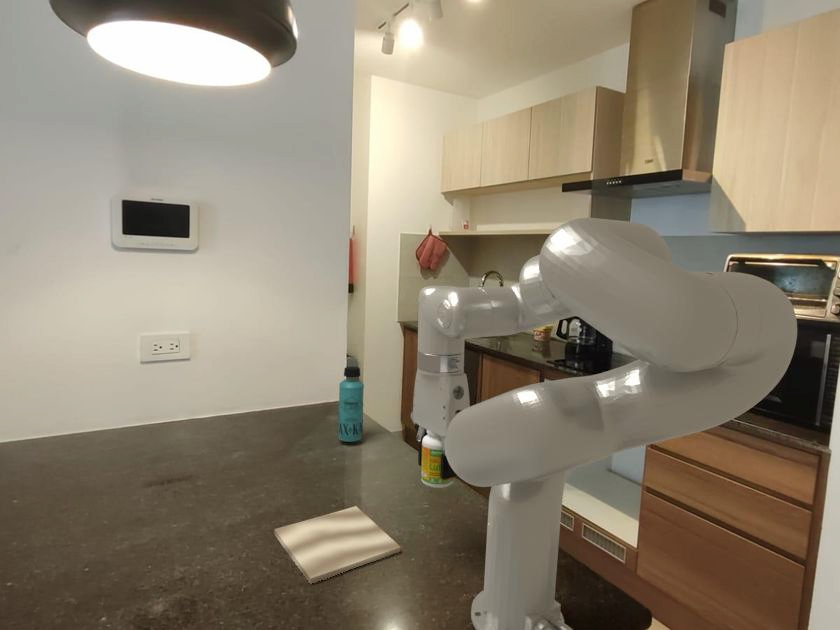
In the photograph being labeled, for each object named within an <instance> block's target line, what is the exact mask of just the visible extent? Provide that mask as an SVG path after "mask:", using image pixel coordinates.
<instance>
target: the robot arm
mask: <svg viewBox="0 0 840 630" xmlns="http://www.w3.org/2000/svg"><path fill="white" fill-rule="evenodd" d="M544 241H545V242H543V245H542V247H541V250H540V253H539V254H538V255H535V256H532V257H531V258H529V259H528V260H527V261H526V262H525V263H524V265H522V267H521V270H520V273H519V277H518V278H519V279H518V282H516V283H513V284H511V285H504V286H474V287H473V286H471V287H470V286H469V287H467V286H465V287H464V286H463V287H459V286H453V285H428V286H424V287H423V288H421V290H420V291H419V294H418V312H417V313H418V314H417V315H418V316H417V317H418V318H417V321H418V323H417V354H416V355H417V360H416V361H417V364H416V365H417V366H416V367H417V370H416V372H415V373H416V374H415V380H414V389H413V402H412V405H413V406H412V411H411V413H410V419H411V420H412V423H413V424H414V429H415V431H416V440H417V442H418V458H417V459H418V461H417V465H418V466H419V467H422V440H423V438H424V437H425V436H426V435H428V434H427V431H426V429H428V430H430V431H432V432H434V433H435V434H437V435H439V436H441V440H442V446H443V452H444V454H442V455H441V472H440V476H441V478H442V479H443V480H445V479H448V478H452V477H459V478H460V479H461V480H462V481H464V482H466V483H467V484H469V485H472V486H475V487H481V488H487V487H489V488H490V487H491V488H490V493H489V497H488V510H487V511H488V512H487V525H486V526H487V527H486V543H485V544H486V545H485V546H486V547H485V549H486V550H485V560H484V561H485V564H484V581H483V590H481V591H480V592H479V593H477V594H476V596H475V597H474V598H473V601H472V603H471V611H470V619H471V622H472V624H473V627H474V629H475V630H574V629H573V628H571V627H570V626H569V625H568V624H566V623H565V619H564V615H563V613H562V612H561V607H562V606H561V605H562V604H561V603H559V602H558V601H556V599H555V597H556V583H557V573H558V571H557V569H558V556H559V555H558V554H559V546H560V545H559V543H560V533H561V532H560V531H561V521H562V520H561V518H562V509H563V508H562V507H563V498H564V491H565V485H566V481H567V476H568V472H569V471H571V470H574V469H576V468H579V467H583V466H587V465H589V464H592V463H595V462H598V461H601V460H603V459H606V458H607V457H609V456H612V455H614V454H617V453H620V452H623V451H626V450H630V449H631V450H632V449H635V448H639V447H643V446H644V447H645V446H649V445H653V444H658V443H662V442H666V441H669V440H672V439H678V438H683V437H686V436H689V435H694V434H697V433H700V432H703V431H708V430H709V429H712V428H716V427H718V426H721V425H724V424H725V423H727V422H730V421H731V420H733V419H735V418H737V417H739V416H742V414H744V413H746V412H748V411H749V410H750V409H752V408H753V407H754V406H756V405H757V404H759V402H761V401H762V400H764V399H765V397H766V396H768V395H769V393H770V392H772V391H773V390H774V388H776V386H777V385H778V384H779V383H780V382H781V380H782V378H783V377H784V375H785V374H786V372H787V370H788V368H789V365H790V364H791V361H792V359H793V356H794V352H795V348H796V344H797V339H798V321H797V316H796V311H795V309H794V306H793V304H792V302H791V300H790V299H789V297H788V295H786V293H785V292H784V291H783V290H782V289H781V288H779V287H778V286H777V285H776V284H774V283H772V281H769V280H767V279H764V278H762V277H759V276H756V275H753V274H749V273H745V272H744V273H743V272H736V271H699V270H698V271H696V270H695V271H693V270H692V271H691V270H689V271H688V270H685V269H682V268H680V267H677V266H676V265H674V264H672V259H671V257H672V256H671V253H670V249H669V246H668V244H667V242H666V241H665V239H664V238H663V237H662V235H660V234H659V233H658V232H657V231H656V230H655V229H653V228H651V227H650V226H647V225H645V224H642V223H639V222H634V221H628V220H627V221H626V220H615V219H607V218H599V217H598V218H597V217H596V218H595V217H579V218H576V219H570V220H569V221H566V222H565V223H563V224H561V225H559V226H558V227H557V228H555V229H554V230H553V231H552V232H551V233H550V234H549V235H548V237H547V238H546V239H545V240H544ZM576 316H577V317H578V318H580V319H581V320H582V321H584V322H585V323H586V324H588V325H589V326H591V327H592V328H594V330H597V331H598V332H600V334H602V335H604V336H605V337H606V338H607V339H609V340H611V341H612V342H614V343H615V344H616V345H618V346H619V347H620V348H621V349H623V350H624V351H626V352H627V353H629V354H631V356H633V357H635V358H636V360H634V361H632V362H629V363H628V364H624V365H621V366H619V367H616V368H613V369H610V370H608V371H607V370H606V371H603V372H601V373H597V374H592V375H585V376H575V377H568V378H562V379H555V380H548V381H544V382H537V383H532V384H527V385H524V386H521V387H518V388H514V389H512V390H509V391H506V392H504V393H501V394H499V395H496V396H493V397H491V398H488V399H486V400H483V401H481V402H478V403H476V404H473V405H471V404H470V402H471V401H470V392H469V383H468V377H467V374H466V373H465V370H464V369H465V368H464V367H465V341H466V340H469V339H476V338H477V339H478V338H489V337H501V336H511V335H514V334H518V333H519V334H520V333H524V332H527V331H532V330H535V329H536V330H537V329H539V328H543V327H546V326H549V325H551V324H554V323H556V322H558V321H561V320H565V319H570V318H573V317H576ZM470 405H471V406H470Z"/></svg>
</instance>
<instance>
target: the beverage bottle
mask: <svg viewBox="0 0 840 630" xmlns="http://www.w3.org/2000/svg"><path fill="white" fill-rule="evenodd" d="M343 377H345V379H343V380H342V381H341V382H340V383H339V385H338V387H339V393H338V395H339V398H338V411H337V413H338V414H337V437H338V440H340V441H341V442H357V441H360V440H361V439H362V436H363V433H364V432H363V431H364V430H363V429H364V428H363V427H364V387H365V384H364V383H363V382H362V380H360V379H358V378H359V377H361V368H360V367H358V366H346V367H345V368H344V372H343ZM346 377H347V378H346Z"/></svg>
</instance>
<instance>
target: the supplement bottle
mask: <svg viewBox="0 0 840 630" xmlns="http://www.w3.org/2000/svg"><path fill="white" fill-rule="evenodd" d="M426 431H427V434H428V435H426V436H425V437H424V438H423V440H422V466H421V475H420V477H421V482H422V484H423V485H425V486H427V487H431V488H437V489H439V488H440V489H441V488H447V487H449V486H451V485H453V483H454V481H455V480H454V479H455V478H454V477H452V478H448V479H445V480H443V479H442V478H441V476H440V472H441V455H442V454H444V452H443V446H442V440H441V436H439V435H437V434H435V433H434V432H432V431H430V430H428V429H426Z"/></svg>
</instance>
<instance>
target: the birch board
mask: <svg viewBox="0 0 840 630" xmlns="http://www.w3.org/2000/svg"><path fill="white" fill-rule="evenodd" d="M273 531H274V533H273V534H274V536H275V538H276V539H277V540H278V542H279V543H280V544H281V546H282V547H283V549H284V550H285V551H286V553H287V554H288V556H289V557H290V558H291V560H292V562H293V563H294V562H295V563H294V564H295V566H296V567H297V566H298V567H297V568H298V570H299V569H300V570H299V571H300V573H301V574H302V573H303V574H302V575H303V576H305V577H304V578H305V579H306V581H307V580H308V581H307V582H308V583H310V584H311V585H313V584H312V583H314V584H317V583H319V582H318V581H320V582H322V581H321V580H323V581H324V580H328V579H331V578H333V577H332V576H334V577H336V576H335V575H337V574H339V575H341V574H340V573H342V574H344V573H343V572H345V571H348V570H350V569H353V568H356V567H359V566H362V565H364V564H367V563H370V562H372V561H376V560H378V559H381V558H384V557H386V556H388V555H391V554H393V553H396V552H399V551H401V550H402V548H401V546H400V544H399V543H397V542H396V541H395V540H394V539H393V538H392V537H390V536H389V534H388V533H386V532H385V531H384V530H383V529H382V528H381V527H380V526H379V525H377V524H376V523H375V522H374V521H373V520H372V519H371V518H370V517H369V516H368V515H367V514H365V513H364V512H363V511H362V509H360V508H359V507H358V506H357V505H354V506H352V507H348V508H345V509H342V510H338V511H334V512H330V513H327V514H324V515H320V516H316V517H313V518H309V519H306V520H302V521H300V522H296V523H291V524H288V525H283V526H281V527H277V528H274V530H273ZM384 559H385V558H384ZM381 560H382V559H381ZM376 562H377V561H376ZM370 564H371V563H370ZM367 565H368V564H367ZM362 567H363V566H362ZM359 568H360V567H359ZM356 569H357V568H356ZM353 570H354V569H353ZM348 572H349V571H348ZM345 573H346V572H345ZM337 576H338V575H337ZM330 577H331V578H330ZM327 578H328V579H327ZM316 582H317V583H316ZM310 584H309V585H310Z"/></svg>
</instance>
